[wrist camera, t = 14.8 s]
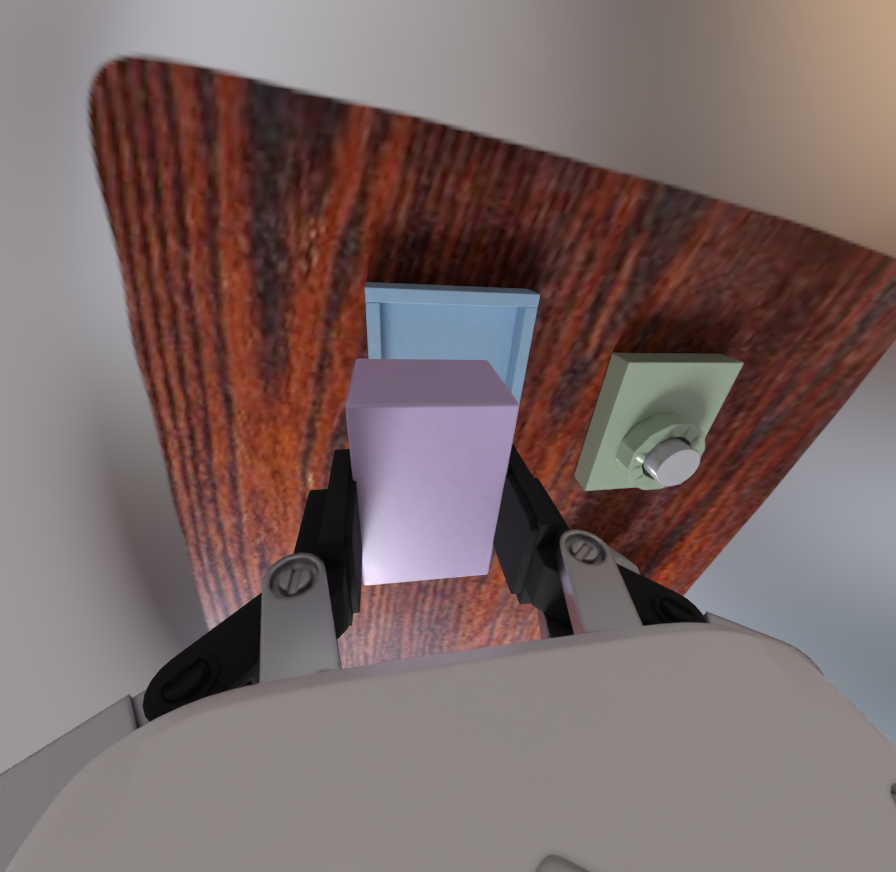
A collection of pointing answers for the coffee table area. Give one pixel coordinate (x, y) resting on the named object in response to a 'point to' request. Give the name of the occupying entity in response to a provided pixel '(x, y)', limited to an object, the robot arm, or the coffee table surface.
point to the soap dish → (453, 325)
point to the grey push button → (671, 462)
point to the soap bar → (428, 465)
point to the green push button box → (651, 413)
